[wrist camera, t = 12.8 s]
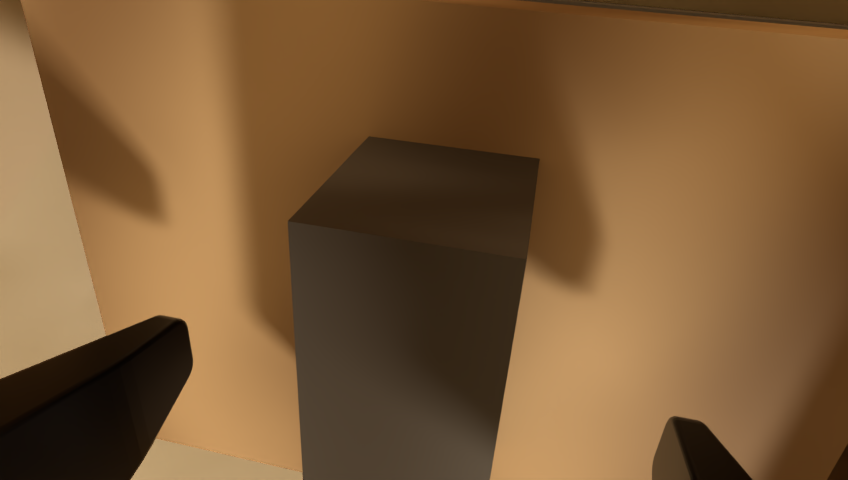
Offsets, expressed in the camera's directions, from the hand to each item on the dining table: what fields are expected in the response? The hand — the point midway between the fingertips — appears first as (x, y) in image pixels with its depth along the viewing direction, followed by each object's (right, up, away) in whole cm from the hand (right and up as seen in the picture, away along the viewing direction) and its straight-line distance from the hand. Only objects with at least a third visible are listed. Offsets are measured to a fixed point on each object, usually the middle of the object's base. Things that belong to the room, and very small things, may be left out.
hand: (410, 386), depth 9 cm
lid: (+1, +2, +3) cm, 4 cm away
